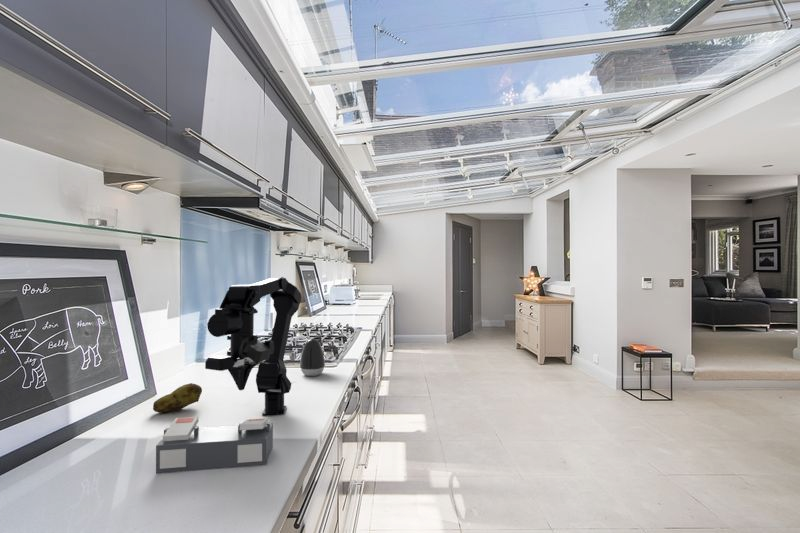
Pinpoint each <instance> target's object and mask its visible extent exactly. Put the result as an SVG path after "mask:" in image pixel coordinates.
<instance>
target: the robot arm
mask: <svg viewBox="0 0 800 533" xmlns="http://www.w3.org/2000/svg"><path fill="white" fill-rule="evenodd" d="M267 295H269V297H270V298H271V299H272V300H273V308H274V310H275V313H276V314H275V319H274V324H273V329H272V335H271V339H270V340H265V341H262V342H260V341H259V340H258V335H257V334H254V327H255V326H254V325H255V324H254V320H255V318H254V317H255V314H258V311H259V310H257V309H256V308H255V306H256V305H258V303H259V302H261V298H264V297H265V296H267ZM302 297H303V296H302V293H301V292H300V290H299V289H298V287H297V286H296V285H294V284H293V283H291V282H289V281H288V280H287V278H286V277H283V276H272V277H269V278H267V279H264V280H261V281H258V282H255V283H251V284H234V285H233V284H232V285H230V286H229V287H228V290H227V291H226V292H225V296H224V297H223V300H222V302H221V304H220V305H219V307H218V308H215V310H214V314H212V315H211V316H210V317H209V319H208V322H207V324H206V325H207V330H208V332H209V334H210V335H211V336H213V337H216V338H220V337H224V336H226V340H229V341H230V350H227V351H226V355H220V354H217V355H214V356H209V357H207V359H206V360H205V363H204V364H205V366H204V367H205V369H206V370H211V371H220V372H222V371H223V372H224V371H228V372H229V374H230V376H231V377H232V380H233V381H234V383H235V385H236V387H237V389H238V390H239V391H243V390H245V388H246V385H247V382H248V379H249V376H250V374H251V372H252V371H253V370H252V369H253V368H254V367H256V366H258V367H257V373H256V375H255V383H256V388H257V393H258V394H262V393H263V394H264V409H263V411H262V412H261V415H262V416H272V415H273V416H274V415H284V414H285V412H286V410H287V405H285V394H289V393H290V391H291V388H292V382H291V381H290V379H289V378H288V376H287V367H286V364H285V362H284V358H285V352H286V348H287V344H288V338H289V333H290V328H291V322H292V318H293V316H294V314H296V313H297V312H298V310H299V307H300V304H301V302H302ZM263 361H264V362H263Z"/></svg>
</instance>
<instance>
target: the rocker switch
mask: <svg viewBox="0 0 800 533" xmlns="http://www.w3.org/2000/svg"><path fill="white" fill-rule="evenodd" d="M267 422H269V418H265V417H264V418H250V419H245V421H243V422H241V423H239V424H240V430H252V429H263V428H264V427H265V426H266V425H267Z"/></svg>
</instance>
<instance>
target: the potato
mask: <svg viewBox="0 0 800 533" xmlns="http://www.w3.org/2000/svg"><path fill="white" fill-rule="evenodd" d="M202 392H203V388H202V387H201V386H200V385H199V384H196V383H187V384H183V385H181V386H179V387H177V388H176V389H174V390H173V391H172V392H170V393H169V394H168V393H167V394H166V395H163V396H161V397H160V398H158V399H156V400H155V401H154V402H153V405H152V407H153V408H152V410H153V411H154V412H155V413H159V414H161V413H167V412H175V411H179V410H182V409H184V408H186V407H188V406H190V405H192V404H194V403H195V404H196V403H199V399H200V397H201V395H202Z"/></svg>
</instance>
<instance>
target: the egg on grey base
mask: <svg viewBox="0 0 800 533" xmlns="http://www.w3.org/2000/svg"><path fill="white" fill-rule="evenodd" d="M321 342H322V338H319V339H316V338H309V339H308V340H306V343H305V344H304V346H303V349H302V352H301V356H300V361H299V362H300V363H299V368H300V370H301V372H302V374H303V375H304V376H306V377H318V376H319V375H321V374H322V373H323V371H324V370H325V366H326V362H325V354H324V352H323V348H322V346H321V344H320V343H321Z"/></svg>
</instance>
